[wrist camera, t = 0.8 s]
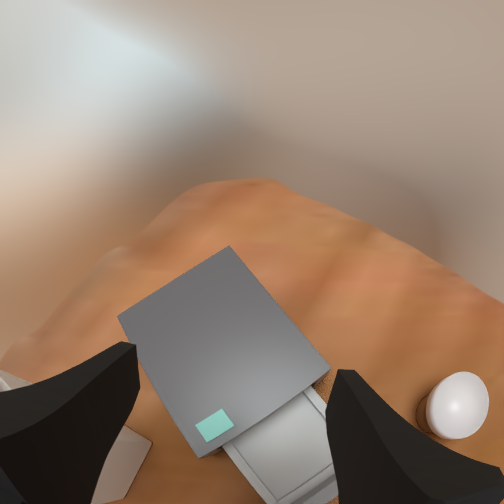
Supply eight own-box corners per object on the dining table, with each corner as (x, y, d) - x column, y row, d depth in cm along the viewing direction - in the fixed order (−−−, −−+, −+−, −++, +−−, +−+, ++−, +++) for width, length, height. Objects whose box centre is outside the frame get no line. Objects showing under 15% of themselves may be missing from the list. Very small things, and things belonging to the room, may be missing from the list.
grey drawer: (380, 446, 23) (396, 447, 19) (268, 526, 20) (266, 540, 16) (286, 335, 30) (287, 319, 26) (179, 406, 27) (164, 400, 23)
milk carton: (153, 442, 25) (2, 420, 9) (124, 499, 21) (-32, 519, 6) (96, 405, 27) (-54, 340, 11) (70, 458, 24) (-86, 430, 8)
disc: (488, 404, 20) (498, 401, 18) (450, 452, 18) (459, 452, 17) (454, 363, 23) (463, 358, 21) (413, 409, 21) (421, 406, 20)
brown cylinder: (458, 411, 23) (479, 405, 20) (431, 441, 22) (451, 439, 19) (435, 384, 25) (454, 375, 22) (408, 413, 24) (425, 408, 21)
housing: (323, 380, 27) (332, 367, 23) (212, 455, 24) (197, 458, 19) (236, 273, 34) (228, 243, 29) (138, 335, 31) (115, 314, 26)
